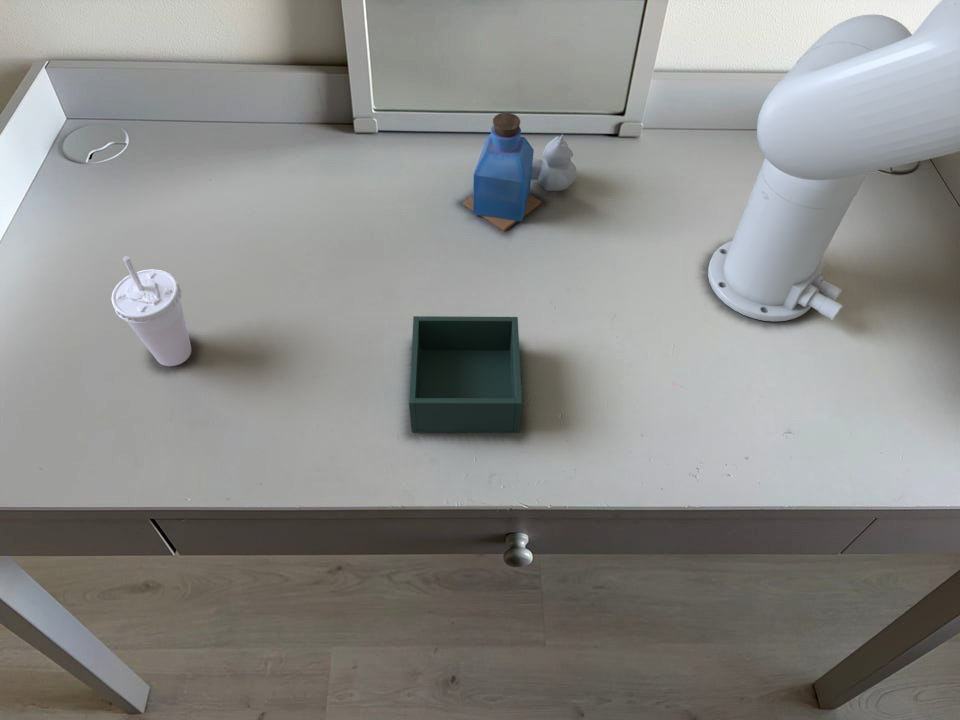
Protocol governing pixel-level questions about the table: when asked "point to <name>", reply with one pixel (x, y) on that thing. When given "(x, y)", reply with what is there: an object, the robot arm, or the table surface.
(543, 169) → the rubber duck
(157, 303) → the smoothie
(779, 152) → the robot arm
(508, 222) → the mat
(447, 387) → the bin
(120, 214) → the table surface
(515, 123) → the perfume bottle
